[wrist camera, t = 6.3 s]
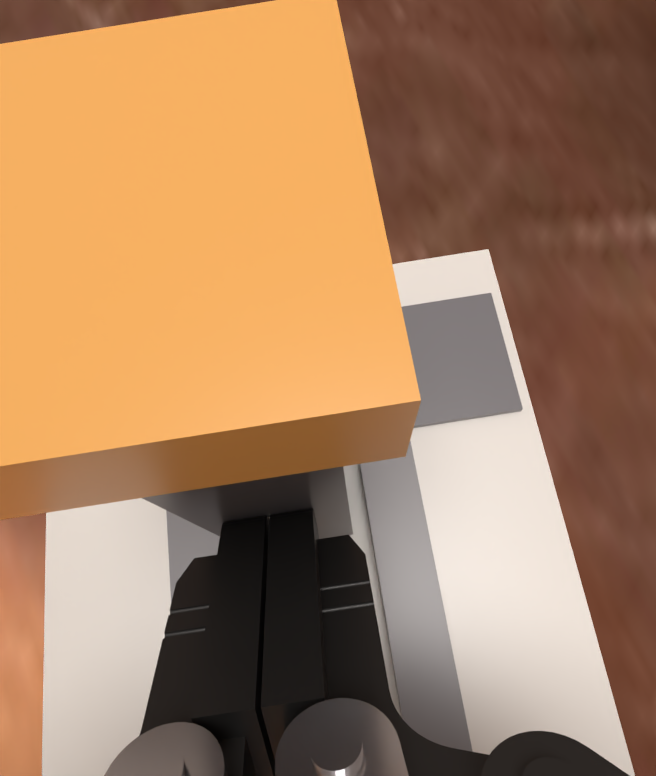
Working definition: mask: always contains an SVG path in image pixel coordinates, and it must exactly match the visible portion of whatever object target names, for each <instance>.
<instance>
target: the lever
mask: <svg viewBox="0 0 656 776" xmlns="http://www.w3.org/2000/svg"><path fill="white" fill-rule="evenodd" d="M420 403H421V397H420V393H419V388H418V383H417V378H416V374H415V369H414V364H413V360H412V355H411V350H410V345H409V341H408V336H407V331H406V326H405V322H404V317H403V312H402V308H401V303H400V298H399V293H398V289H397V284H396V279H395V274H394V270H393V265H392V260H391V256H390V251H389V246H388V241H387V237H386V232H385V227H384V222H383V218H382V213H381V208H380V204H379V199H378V194H377V189H376V185H375V180H374V175H373V171H372V166H371V161H370V156H369V152H368V147H367V142H366V137H365V133H364V128H363V123H362V119H361V114H360V109H359V104H358V100H357V95H356V90H355V85H354V81H353V76H352V71H351V67H350V62H349V57H348V52H347V48H346V43H345V38H344V33H343V29H342V24H341V19H340V15H339V10H338V5H337V0H276V1H269V2H263V3H257V4H250V5H244V6H238V7H231V8H225V9H219V10H212V11H206V12H200V13H193V14H187V15H181V16H175V17H168V18H162V19H156V20H149V21H143V22H137V23H130V24H124V25H118V26H111V27H105V28H99V29H92V30H86V31H80V32H73V33H67V34H61V35H54V36H48V37H42V38H36V39H29V40H23V41H17V42H10V43H4V44H0V520H4V519H10V518H16V517H23V516H29V515H36V514H42V513H48V512H55V511H61V510H68V509H74V508H80V507H87V506H93V505H100V504H106V503H112V502H119V501H125V500H132V499H138V498H142V499H144V500H146V501H148V502H150V503H153V504H155V505H157V506H159V507H161V508H163V509H165V510H167V511H169V512H171V513H173V514H175V515H177V516H179V517H181V518H183V519H185V520H187V521H189V522H191V523H193V524H195V525H197V526H199V527H201V528H203V529H205V530H207V531H210V532H212V533H214V534H216V535H218V536H220V533H221V528H222V524H223V522H227V521H234V520H241V519H247V518H254V517H261V516H268V518H269V517H270V515H273V514H279V513H286V512H292V511H299V510H306V509H312V508H313V509H314V513H315V517H316V523H317V528H318V534H319V539H323V538H329V537H336V536H343V535H350V534H353V530H352V523H351V517H350V510H349V503H348V496H347V489H346V483H345V476H344V469H343V466H349V465H355V464H362V463H368V462H375V461H381V460H387V459H394V458H400V457H406V453H407V450H408V446H409V442H410V439H411V435H412V431H413V428H414V424H415V421H416V417H417V413H418V410H419V406H420Z"/></svg>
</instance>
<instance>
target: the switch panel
mask: <svg viewBox="0 0 656 776" xmlns="http://www.w3.org/2000/svg"><path fill="white" fill-rule="evenodd" d="M392 265H393V270H394V274H395V279H396V284H397V289H398V293H399V298H400V303H401V308H402V312H403V317H404V322H405V326H406V331H407V336H408V341H409V345H410V350H411V355H412V360H413V364H414V369H415V374H416V378H417V383H418V388H419V393H420V397H421V403H420V406H419V410H418V413H417V417H416V421H415V424H414V428H413V431H412V435H411V439H410V442H409V446H408V450H407V453H406V457H400V458H394V459H387V460H381V461H375V462H368V463H362V464H355V465H349V466H343V469H344V476H345V483H346V489H347V496H348V503H349V510H350V517H351V523H352V530H353V534H350V537H351V538H352V539H353V540H354V541H355V542H356V544H357V545H358V546H359V547H360V548H361V550H362V551H363V552H364V553H365V555H366V561H367V566H368V572H369V578H370V584H371V589H372V594H373V600H374V606H375V611H376V617H377V623H378V628H379V634H380V640H381V645H382V651H383V657H384V662H385V668H386V674H387V679H388V685H389V691H390V695H391V698H392V701H393V704H394V706H395V708H396V710H397V712H398V713H399V715H400V716H401V718H402V719H403V720H404V721H405V722H406V723H407V724H408V725H409V727H411V728H412V729H413V730H414V731H416V732H417V733H418V734H419V735H421V736H423V737H425V738H426V739H428V740H430V741H432V742H435V743H437V744H439V745H443V746H447V747H450V748H455V749H461V750H466V751H471V752H477V753H482V754H488V755H490V753H491V752H492V750H493V749H494V748H495V747H496V746H497V745H499V744H500V743H501V742H502V741H504V740H505V739H507V738H509V737H511V736H513V735H516V734H518V733H523V732H528V731H547V732H554V733H558V734H561V735H565V736H567V737H570V738H572V739H574V740H577V741H579V742H580V743H582V744H584V745H585V746H587V747H589V748H590V749H592V750H593V751H595V752H596V753H597V754H599V755H600V756H602V757H603V758H605V759H606V760H608V761H609V762H611V763H612V764H614V765H615V766H616V767H618V768H619V769H621V770H622V771H624V772H625V773H627V774H628V775H630V776H635V774H634V770H633V767H632V763H631V759H630V756H629V752H628V749H627V745H626V741H625V738H624V734H623V731H622V727H621V723H620V720H619V716H618V713H617V709H616V706H615V702H614V698H613V695H612V691H611V688H610V684H609V680H608V677H607V673H606V670H605V666H604V662H603V659H602V655H601V652H600V648H599V645H598V641H597V637H596V634H595V630H594V627H593V623H592V619H591V616H590V612H589V609H588V605H587V601H586V598H585V594H584V591H583V587H582V583H581V580H580V576H579V573H578V569H577V566H576V562H575V558H574V555H573V551H572V548H571V544H570V540H569V537H568V533H567V530H566V526H565V522H564V519H563V515H562V512H561V508H560V505H559V501H558V497H557V494H556V490H555V487H554V483H553V479H552V476H551V472H550V469H549V465H548V461H547V458H546V454H545V451H544V447H543V444H542V440H541V436H540V433H539V429H538V426H537V422H536V418H535V415H534V411H533V408H532V404H531V400H530V397H529V393H528V390H527V386H526V382H525V379H524V375H523V372H522V368H521V365H520V361H519V357H518V354H517V350H516V347H515V343H514V339H513V336H512V332H511V329H510V325H509V321H508V318H507V314H506V311H505V307H504V304H503V300H502V296H501V293H500V289H499V286H498V282H497V278H496V275H495V271H494V268H493V264H492V260H491V257H490V253H489V250H488V249H487V250H481V251H474V252H468V253H461V254H455V255H449V256H442V257H436V258H430V259H423V260H417V261H410V262H404V263H398V264H392ZM219 540H220V536H218V535H216V534H214V533H212V532H210V531H207V530H205V529H203V528H201V527H199V526H197V525H195V524H193V523H191V522H189V521H187V520H185V519H183V518H181V517H179V516H177V515H175V514H173V513H171V512H169V511H167V510H165V509H163V508H161V507H159V506H157V505H155V504H153V503H150V502H148V501H146V500H144V499H142V498H138V499H132V500H125V501H119V502H112V503H106V504H100V505H93V506H87V507H80V508H74V509H68V510H61V511H55V512H48V513H46V559H45V618H44V678H43V737H42V776H104V775H105V773H106V771H107V770H108V768H109V766H110V765H111V763H112V762H113V761H114V759H115V758H116V757H117V755H118V754H119V753H120V752H121V751H122V750H123V749H124V748H125V747H126V746H127V745H128V744H130V743H131V742H132V741H133V740H134V739H136V738H137V737H139V735H140V732H141V729H142V724H143V720H144V716H145V712H146V707H147V703H148V699H149V695H150V691H151V686H152V682H153V678H154V674H155V669H156V665H157V661H158V657H159V653H160V648H161V644H162V640H163V639H164V638H165V634H164V631H165V627H166V623H167V619H168V615H170V606H171V602H172V598H173V593H174V589H175V585H176V582H177V581H178V579H179V578H180V577H181V575H182V574H183V573H184V571H185V570H186V569H187V567H188V566H189V564H190V563H191V562H192V560H193V559H194V558H198V557H205V556H211V555H217V552H218V546H219Z"/></svg>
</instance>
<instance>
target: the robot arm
mask: <svg viewBox="0 0 656 776" xmlns="http://www.w3.org/2000/svg"><path fill="white" fill-rule="evenodd" d="M164 634H165V638H164V639H163V640H162V644H161V648H160V653H159V657H158V661H157V665H156V669H155V674H154V678H153V682H152V686H151V691H150V695H149V699H148V703H147V707H146V712H145V716H144V720H143V724H142V729H141V732H140V735H139V737H137V738H136V739H134V740H133V741H132V742H131V743H130V744H128V745H127V746H126V747H125V748H124V749H123V750H122V751H121V752H120V753H119V754H118V755H117V757H116V758H115V759H114V761H113V762H112V763H111V765H110V766H109V768H108V770H107V771H106V773H105V775H104V776H630V775H628V774H627V773H625V772H624V771H622V770H621V769H619V768H618V767H616V766H615V765H614V764H612V763H611V762H609V761H608V760H606V759H605V758H603V757H602V756H600V755H599V754H597V753H596V752H595V751H593V750H592V749H590V748H589V747H587V746H585V745H584V744H582V743H580V742H579V741H577V740H574V739H572V738H570V737H567V736H565V735H561V734H558V733H554V732H547V731H528V732H523V733H518V734H516V735H513V736H511V737H509V738H507V739H505V740H504V741H502V742H501V743H500V744H499V745H497V746H496V747H495V748H494V749H493V750H492V752H491V753H490V755H488V754H482V753H477V752H471V751H466V750H461V749H455V748H450V747H447V746H443V745H439V744H437V743H435V742H432V741H430V740H428V739H426V738H425V737H423V736H421V735H419V734H418V733H417V732H416V731H414V730H413V729H412V728H411V727H409V725H408V724H407V723H406V722H405V721H404V720H403V719H402V718H401V716H400V715H399V713H398V712H397V710H396V708H395V706H394V704H393V701H392V698H391V695H390V691H389V685H388V679H387V674H386V668H385V662H384V657H383V651H382V645H381V640H380V634H379V628H378V623H377V617H376V611H375V606H374V600H373V594H372V589H371V584H370V578H369V572H368V566H367V561H366V555H365V553H364V552H363V551H362V550H361V548H360V547H359V546H358V545H357V544H356V542H355V541H354V540H353V539H352V538H351V537H350V535H343V536H336V537H329V538H323V539H319V534H318V528H317V523H316V517H315V513H314V509H313V508H312V509H306V510H299V511H292V512H286V513H279V514H273V515H270V517H269V518H268V516H261V517H254V518H247V519H241V520H234V521H227V522H223V524H222V528H221V533H220V540H219V546H218V552H217V555H211V556H205V557H198V558H194V559H193V560H192V562H191V563H190V564H189V566H188V567H187V569H186V570H185V571H184V573H183V574H182V575H181V577H180V578H179V579H178V581H177V582H176V585H175V589H174V593H173V598H172V602H171V606H170V615H168V619H167V623H166V627H165V631H164Z"/></svg>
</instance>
